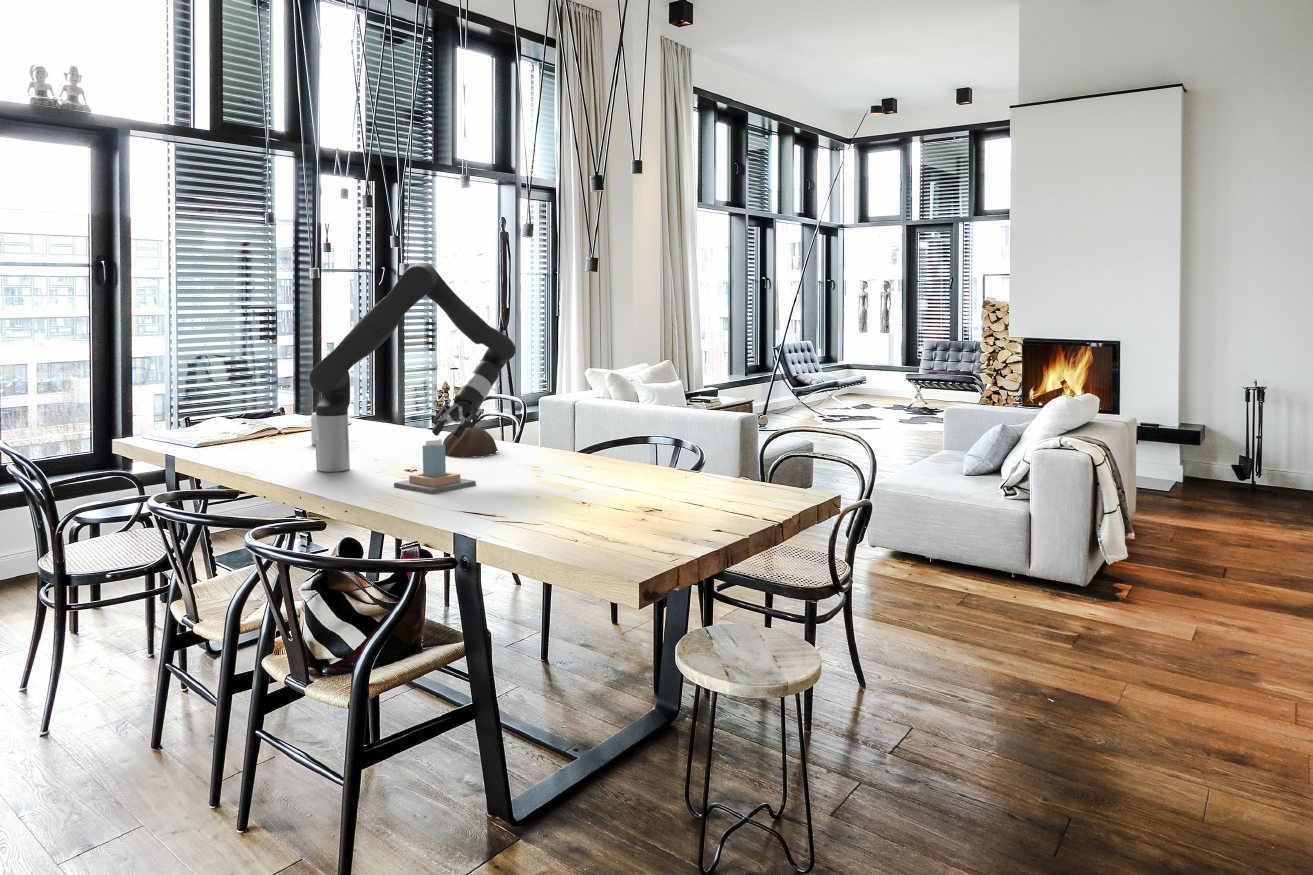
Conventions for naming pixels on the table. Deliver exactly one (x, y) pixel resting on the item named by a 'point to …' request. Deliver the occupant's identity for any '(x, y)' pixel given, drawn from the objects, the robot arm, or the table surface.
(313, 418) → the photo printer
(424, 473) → the ball-topped blue post
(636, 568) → the table surface
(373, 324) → the robot arm
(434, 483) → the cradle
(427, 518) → the table surface
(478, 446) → the decorative dome
